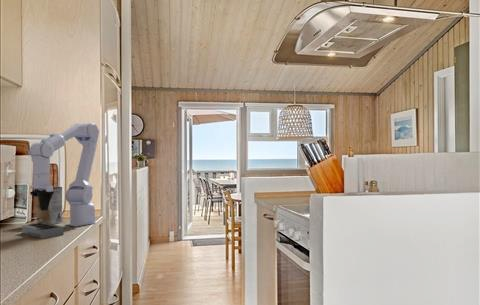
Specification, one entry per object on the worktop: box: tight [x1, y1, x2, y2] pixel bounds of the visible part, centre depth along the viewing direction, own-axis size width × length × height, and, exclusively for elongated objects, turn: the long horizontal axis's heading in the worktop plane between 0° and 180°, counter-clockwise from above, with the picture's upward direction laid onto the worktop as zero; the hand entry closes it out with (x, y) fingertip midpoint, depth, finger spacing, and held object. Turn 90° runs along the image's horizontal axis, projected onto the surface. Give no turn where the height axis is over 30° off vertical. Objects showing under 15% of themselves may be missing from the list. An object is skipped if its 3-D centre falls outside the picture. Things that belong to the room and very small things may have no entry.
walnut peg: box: [33, 196, 48, 219], centre depth 139 cm, size 4×4×8 cm
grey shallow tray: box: [21, 222, 65, 240], centre depth 139 cm, size 8×17×3 cm, turn 51°
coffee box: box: [35, 186, 63, 225], centre depth 163 cm, size 9×6×16 cm
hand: (42, 209), depth 139 cm, fingers closed on walnut peg, 4 cm apart
